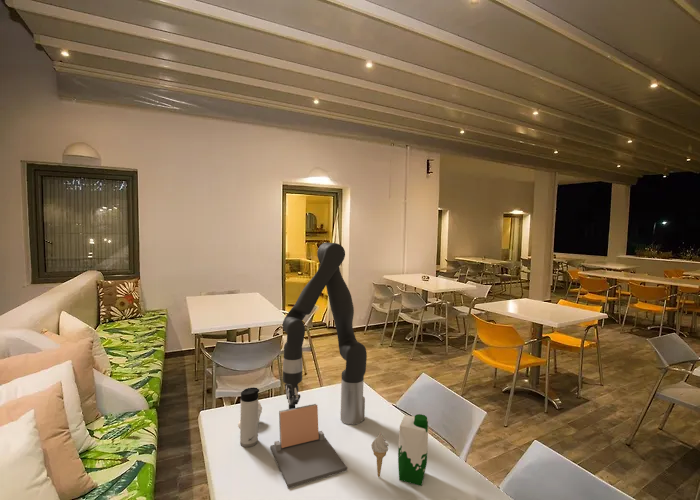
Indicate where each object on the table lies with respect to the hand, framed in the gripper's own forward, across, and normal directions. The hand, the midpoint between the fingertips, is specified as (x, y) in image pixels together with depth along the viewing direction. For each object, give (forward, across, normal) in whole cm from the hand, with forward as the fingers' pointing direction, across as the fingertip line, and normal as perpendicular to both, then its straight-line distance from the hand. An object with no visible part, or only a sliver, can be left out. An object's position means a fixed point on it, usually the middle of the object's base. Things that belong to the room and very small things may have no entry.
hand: (291, 412), depth 141 cm
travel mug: (+8, 0, +16) cm, 18 cm away
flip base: (+8, -18, 0) cm, 20 cm away
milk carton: (+8, -40, -28) cm, 49 cm away
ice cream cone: (+8, -36, -18) cm, 41 cm away
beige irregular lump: (+8, +12, +14) cm, 20 cm away
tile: (+6, -11, 0) cm, 13 cm away
